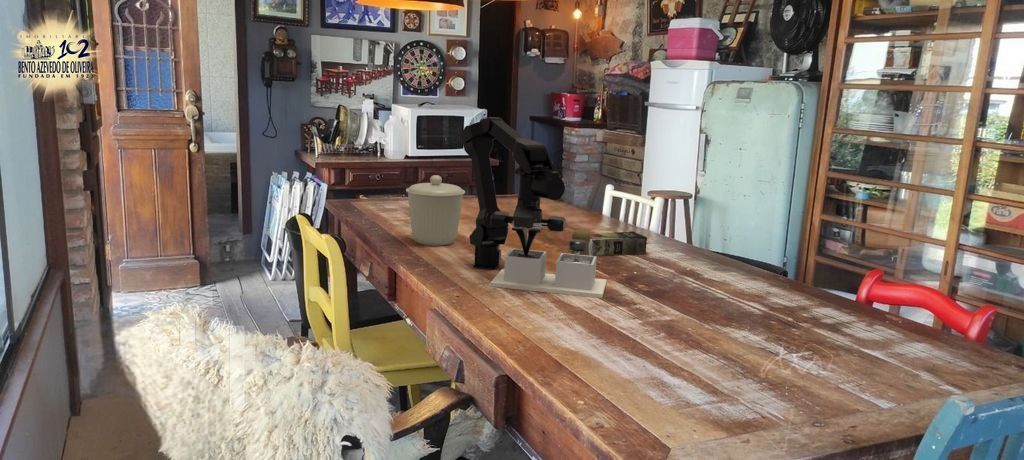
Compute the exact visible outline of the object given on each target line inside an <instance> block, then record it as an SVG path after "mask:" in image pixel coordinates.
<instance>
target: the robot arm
mask: <svg viewBox="0 0 1024 460" xmlns="http://www.w3.org/2000/svg"><path fill="white" fill-rule="evenodd" d="M460 139H461V143H462V145H463V149H464V150H463V151H464V152H465V153H466V154H467V156H468V157H469V158H470V159H471V164H472V170H473V176H474V182H475V189H476V196H477V200H478V201H477V202H478V207H479V209H478V210H479V212H478V214H477V216H476V219H475V228H474V229H473V231H472V232H471V234H470V235H469V243H470V245H472V246H474V264H472V268H478V269H487V270H497V268H498V267H499V266H500V265H501V263H502V250H501V249H500V245H503V246H504V245H505V243H506V240H507V237H508V234H509V226H510V225H509V224H512V227H511V230H512V231H515V233H516V234H517V235H518V238H519V241H520V244H521V248H522V249H523V252H524V254H526V255H527V254H528V252H529V250H531V247H532V244H533V242H534V240H535V238H536V237H537V234H538V233H541V232H542V231H543V230H544V227H546V228H547V229H548V230H549V231H551V232H560V233H561V232H564V231H565V229H566V227H567V226H566V225H567V224H566V223H567V222H566V221H567V220H566V218H565V217H564V216H559V215H558V216H556V215H550V216H549V217H548V218H543V209H542V208H541V201H542V199H541V198H543V199H547V200H551V201H558V200H560V199H561V198H562V197H563V195H564V194H565V190H566V187H565V182H564V180H563V179H562V178H561V177H560V172H559V171H555V168H554V164H553V163H552V161H551V158H550V156H549V153H548V149H547V147H546V146H545V145H544V144H543V143H541V142H539V141H536V140H532V139H528V138H526V137H524V136H523V135H522V134H520V133H519V132H518V131H516V130H515V129H514V128H512V126H510V125H509V124H507V123H506V122H505V121H504V119H503V118H501V117H495V116H492V117H491V116H490V117H489V116H488V117H487V116H486V117H485V118H483V119H482V120H480V121H478V122H474V123H472V124H469V125H466V126H464V128H463V130H461V133H460ZM494 140H497V141H498V142H499V143H500V144H501V145H503V146H504V147H505V148H506V149H508V150H509V151H510V152H511V155H512V159H513V160H514V162H515V163H516V164H517V165H518V166H519V167H517V168H516V169H515V170H514V174H515V175H518V191H517V204H516V207H515V209H514V213H513V215H510V212H509V211H501V209H500V208H499V206H498V201H497V196H496V190H495V189H496V188H495V183H494V177H493V171H492V166H491V165H492V163H491V160H490V155H491V154H492V150H493V147H494ZM527 229H528V231H527Z"/></svg>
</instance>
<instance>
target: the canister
mask: <svg viewBox="0 0 1024 460" xmlns="http://www.w3.org/2000/svg"><path fill="white" fill-rule="evenodd" d="M429 181H430V182H421V183H416V184H412V185H410V186H409V187H406V189H405V192H406V193H407V196H408V199H407V200H408V206H409V208H408V209H409V220H410V228H411V229H410V230H411V235H412V238H413V240H414V241H415V242H416V243H418V244H420V245H425V246H433V247H436V246H438V247H439V246H448V245H451V244H452V243H454V242H455V240H456V239H457V235H458V230H459V224H460V218H461V210H462V203H463V197H464V195H465V194H466V191H465V190H464V189H462V187H460V186H458V185H456V184H452V183H451V184H450V183H445V182H444V183H443V182H442V181H443V180H442V176H440V175H438V174H436V175H435V174H434V175H432V176H430V178H429Z"/></svg>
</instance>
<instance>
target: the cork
mask: <svg viewBox="0 0 1024 460" xmlns="http://www.w3.org/2000/svg"><path fill="white" fill-rule="evenodd" d="M590 233H591V232H590V231H589V230H584V229H577V230H574V231H573V232H572V235H571V240H575V239H576V240H584V241H586V242H587V247H586V251H580V255H587V256H589V246H588V243H589V241H590V239H591V235H590ZM570 254H575V251H573V250H571V253H570Z"/></svg>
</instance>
